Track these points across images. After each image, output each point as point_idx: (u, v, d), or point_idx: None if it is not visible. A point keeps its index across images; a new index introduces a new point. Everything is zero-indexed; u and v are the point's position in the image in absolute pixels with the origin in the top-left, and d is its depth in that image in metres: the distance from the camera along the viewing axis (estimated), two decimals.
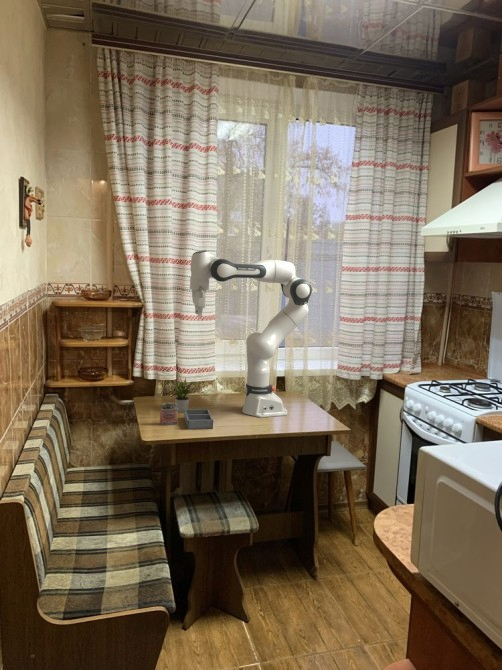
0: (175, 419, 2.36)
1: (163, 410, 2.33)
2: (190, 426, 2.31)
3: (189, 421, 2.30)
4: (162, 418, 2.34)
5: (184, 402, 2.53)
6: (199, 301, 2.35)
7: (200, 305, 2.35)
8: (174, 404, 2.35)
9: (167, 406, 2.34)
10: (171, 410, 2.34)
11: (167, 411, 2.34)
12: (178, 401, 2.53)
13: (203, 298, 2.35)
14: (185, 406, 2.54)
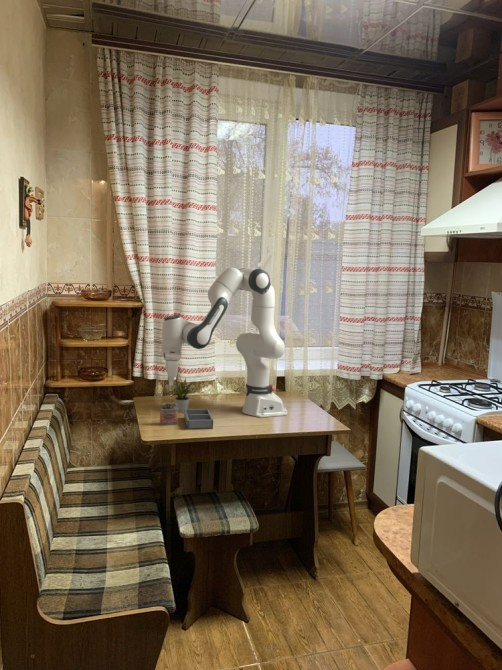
0: (175, 419, 2.36)
1: (163, 410, 2.33)
2: (190, 426, 2.31)
3: (189, 421, 2.30)
4: (162, 418, 2.34)
5: (184, 402, 2.53)
6: None
7: None
8: (174, 404, 2.35)
9: (167, 406, 2.34)
10: (171, 410, 2.34)
11: (167, 411, 2.34)
12: (178, 401, 2.53)
13: None
14: (185, 406, 2.54)
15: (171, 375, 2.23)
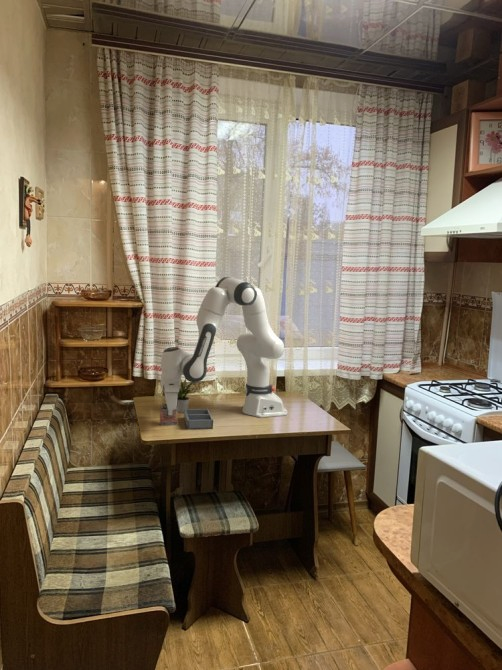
0: (175, 419, 2.36)
1: (163, 410, 2.33)
2: (190, 426, 2.31)
3: (189, 421, 2.30)
4: (162, 418, 2.34)
5: (184, 402, 2.53)
6: None
7: None
8: None
9: None
10: None
11: (167, 411, 2.34)
12: (178, 401, 2.53)
13: None
14: (185, 406, 2.54)
15: (170, 407, 2.25)
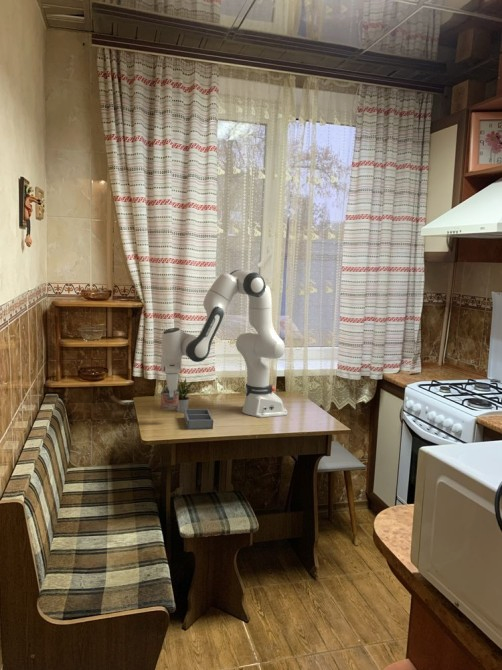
0: (176, 403, 2.35)
1: (164, 394, 2.33)
2: (190, 426, 2.31)
3: (189, 421, 2.30)
4: (163, 402, 2.33)
5: (184, 402, 2.53)
6: None
7: None
8: None
9: (168, 390, 2.33)
10: None
11: (168, 395, 2.33)
12: (178, 401, 2.53)
13: None
14: (185, 406, 2.54)
15: (171, 388, 2.24)
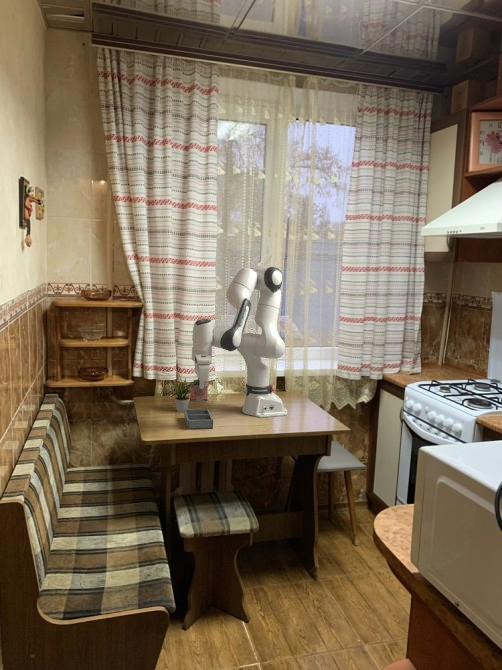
0: (206, 396, 2.33)
1: (194, 386, 2.31)
2: (190, 426, 2.31)
3: (189, 421, 2.30)
4: (193, 394, 2.32)
5: (184, 402, 2.53)
6: None
7: None
8: None
9: (198, 382, 2.32)
10: None
11: (198, 387, 2.31)
12: (178, 401, 2.53)
13: None
14: (185, 406, 2.54)
15: (203, 379, 2.22)
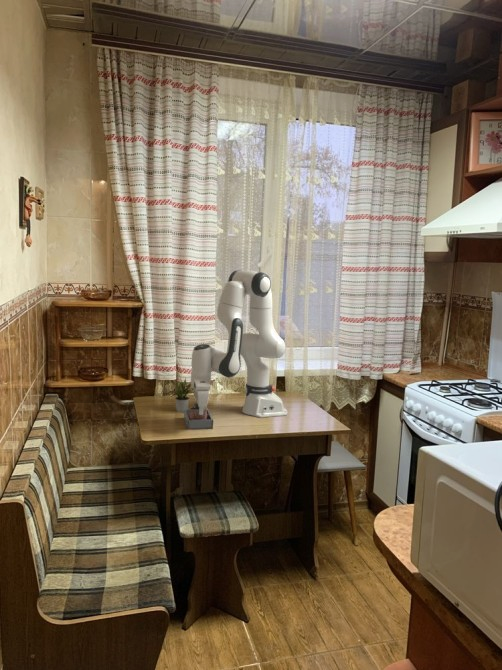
0: (204, 419, 2.35)
1: (193, 410, 2.32)
2: (190, 426, 2.31)
3: (189, 421, 2.30)
4: (192, 418, 2.33)
5: (184, 402, 2.53)
6: None
7: None
8: None
9: (197, 406, 2.33)
10: None
11: (197, 411, 2.33)
12: (178, 401, 2.53)
13: None
14: (185, 406, 2.54)
15: (202, 405, 2.24)
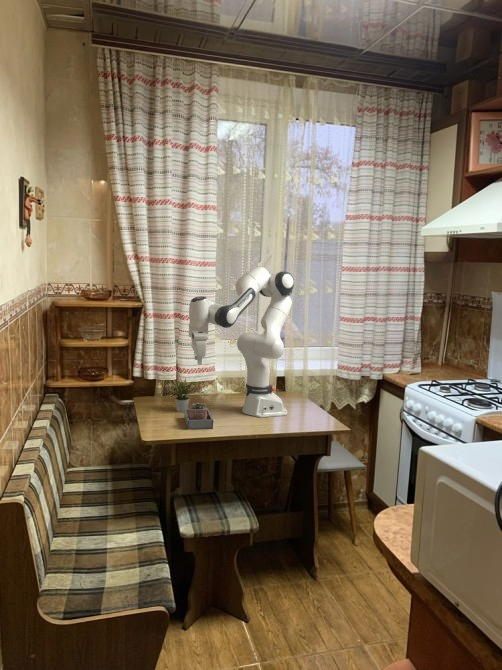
0: (204, 419, 2.35)
1: (193, 410, 2.32)
2: (190, 426, 2.31)
3: (189, 421, 2.30)
4: (192, 418, 2.33)
5: (184, 402, 2.53)
6: None
7: None
8: (203, 404, 2.34)
9: (197, 406, 2.33)
10: (201, 410, 2.33)
11: (197, 411, 2.33)
12: (178, 401, 2.53)
13: None
14: (185, 406, 2.54)
15: (200, 354, 2.30)
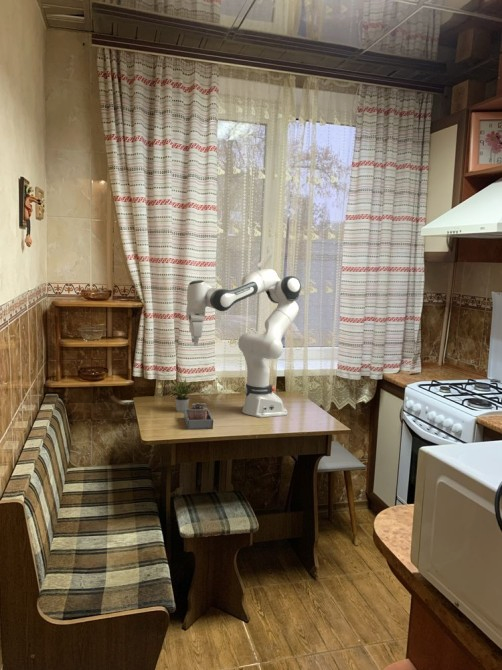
0: (204, 419, 2.35)
1: (193, 410, 2.32)
2: (190, 426, 2.31)
3: (189, 421, 2.30)
4: (192, 418, 2.33)
5: (184, 402, 2.53)
6: None
7: None
8: (203, 404, 2.34)
9: (197, 406, 2.33)
10: (201, 410, 2.33)
11: (197, 411, 2.33)
12: (178, 401, 2.53)
13: None
14: (185, 406, 2.54)
15: (196, 335, 2.37)
